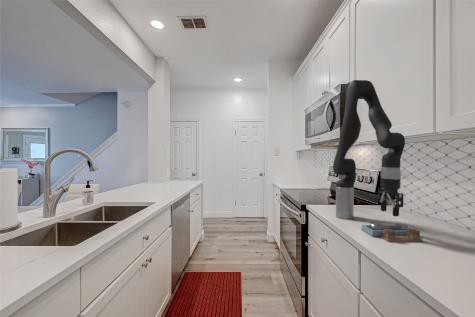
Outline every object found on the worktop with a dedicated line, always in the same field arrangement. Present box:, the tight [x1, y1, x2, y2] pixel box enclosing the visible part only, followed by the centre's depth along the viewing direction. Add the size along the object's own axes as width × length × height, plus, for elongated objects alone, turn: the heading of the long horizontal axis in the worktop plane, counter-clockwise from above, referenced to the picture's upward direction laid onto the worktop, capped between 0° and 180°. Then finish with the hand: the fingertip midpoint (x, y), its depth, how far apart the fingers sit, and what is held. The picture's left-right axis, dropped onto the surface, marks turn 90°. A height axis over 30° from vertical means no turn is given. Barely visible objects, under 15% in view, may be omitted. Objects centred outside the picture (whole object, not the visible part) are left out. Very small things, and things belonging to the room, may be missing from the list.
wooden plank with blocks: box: [380, 228, 424, 243], centre depth 100 cm, size 5×14×4 cm, turn 90°
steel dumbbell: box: [369, 222, 409, 230], centre depth 108 cm, size 5×16×4 cm, turn 90°
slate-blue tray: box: [361, 224, 414, 238], centre depth 108 cm, size 9×20×2 cm, turn 90°
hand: (389, 213), depth 109 cm, fingers open, 8 cm apart
